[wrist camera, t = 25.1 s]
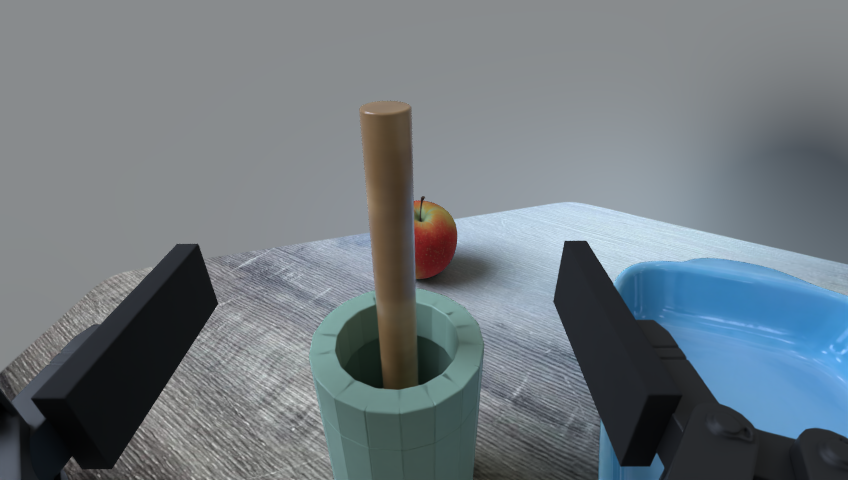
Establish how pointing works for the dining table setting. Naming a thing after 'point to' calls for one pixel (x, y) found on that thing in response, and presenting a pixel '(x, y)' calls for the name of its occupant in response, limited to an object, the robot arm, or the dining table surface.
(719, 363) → the casserole dish
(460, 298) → the dining table surface
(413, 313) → the tan long rod
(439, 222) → the apple
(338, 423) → the green cylindrical holder
